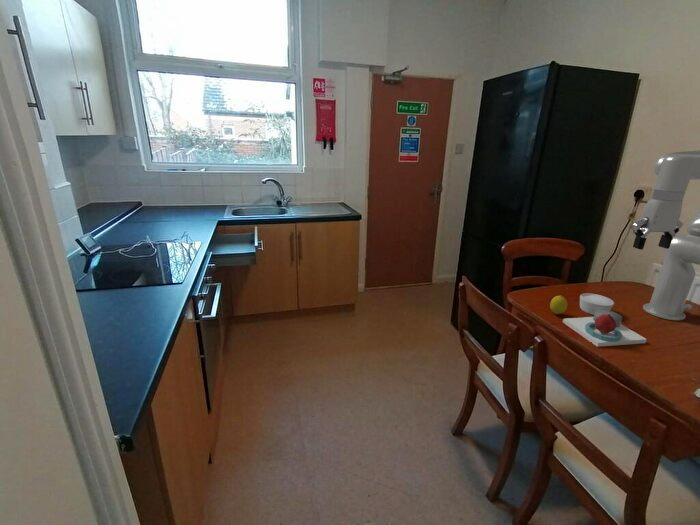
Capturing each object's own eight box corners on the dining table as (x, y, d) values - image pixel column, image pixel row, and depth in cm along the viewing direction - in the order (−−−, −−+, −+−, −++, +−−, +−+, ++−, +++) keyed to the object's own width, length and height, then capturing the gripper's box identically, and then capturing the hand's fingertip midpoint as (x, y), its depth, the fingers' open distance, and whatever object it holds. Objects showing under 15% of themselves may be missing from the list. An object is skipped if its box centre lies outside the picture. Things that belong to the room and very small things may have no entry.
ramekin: (588, 302, 143) (591, 291, 141) (617, 314, 133) (621, 302, 131) (570, 307, 138) (573, 295, 137) (599, 320, 129) (603, 307, 127)
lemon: (566, 318, 130) (571, 299, 127) (551, 316, 131) (555, 298, 128) (561, 311, 135) (566, 293, 132) (546, 310, 136) (550, 291, 133)
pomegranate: (588, 329, 119) (593, 309, 117) (603, 328, 120) (609, 308, 117) (601, 338, 114) (607, 317, 111) (617, 337, 114) (623, 316, 112)
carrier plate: (605, 319, 129) (609, 308, 128) (645, 343, 114) (649, 331, 113) (562, 322, 127) (565, 311, 125) (597, 346, 112) (600, 334, 111)
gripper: (679, 194, 112) (662, 243, 118) (632, 194, 110) (617, 245, 116) (704, 197, 105) (684, 250, 111) (654, 198, 103) (637, 252, 109)
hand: (650, 247), depth 113 cm, fingers open, 9 cm apart
